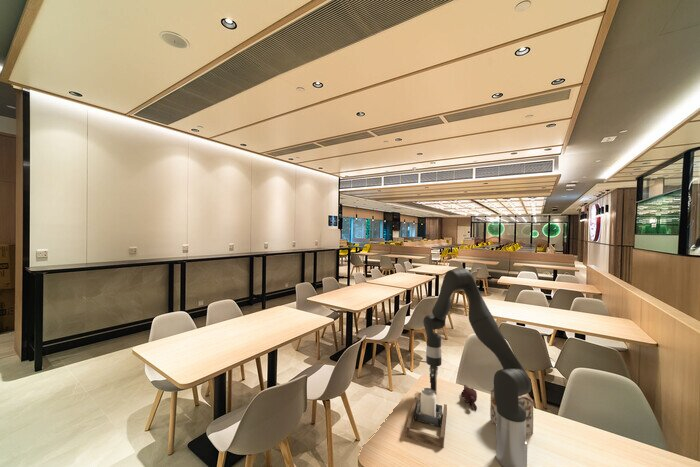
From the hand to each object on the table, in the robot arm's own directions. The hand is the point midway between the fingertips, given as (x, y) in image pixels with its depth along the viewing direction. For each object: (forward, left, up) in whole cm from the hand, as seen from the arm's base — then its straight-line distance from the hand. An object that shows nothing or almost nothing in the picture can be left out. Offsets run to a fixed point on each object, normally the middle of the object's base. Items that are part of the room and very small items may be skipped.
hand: (433, 388), depth 141 cm
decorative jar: (-33, +11, -3) cm, 35 cm away
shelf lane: (0, +24, -3) cm, 25 cm away
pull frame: (0, +11, -3) cm, 12 cm away
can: (0, +20, -3) cm, 21 cm away
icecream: (-17, -1, -3) cm, 17 cm away
